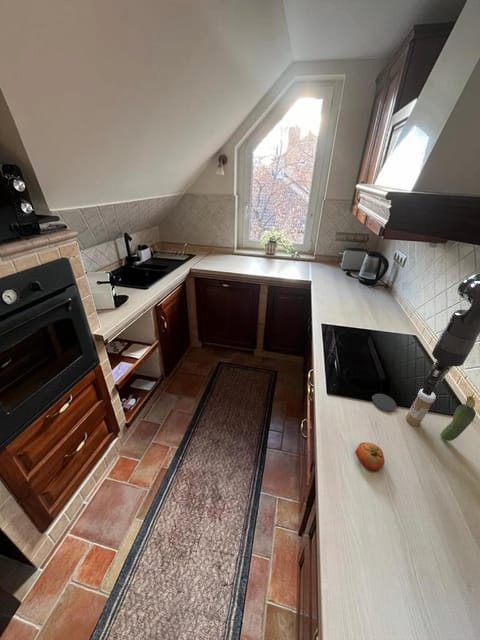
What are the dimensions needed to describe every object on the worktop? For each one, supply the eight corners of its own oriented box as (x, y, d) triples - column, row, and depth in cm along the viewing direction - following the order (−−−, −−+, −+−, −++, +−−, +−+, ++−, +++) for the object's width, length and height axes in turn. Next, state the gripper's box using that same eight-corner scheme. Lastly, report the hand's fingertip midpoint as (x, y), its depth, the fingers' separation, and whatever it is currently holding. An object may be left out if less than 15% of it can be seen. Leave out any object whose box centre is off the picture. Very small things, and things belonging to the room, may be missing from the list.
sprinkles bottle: (402, 414, 90) (417, 387, 83) (416, 416, 90) (431, 388, 83) (409, 426, 86) (424, 398, 79) (423, 427, 86) (439, 399, 79)
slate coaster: (388, 394, 98) (388, 393, 98) (400, 411, 91) (400, 410, 91) (368, 395, 98) (368, 393, 97) (378, 412, 91) (379, 410, 91)
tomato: (359, 470, 71) (363, 443, 73) (349, 461, 78) (352, 436, 79) (388, 477, 71) (391, 450, 72) (375, 467, 78) (378, 443, 79)
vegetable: (453, 439, 82) (484, 395, 72) (454, 450, 79) (488, 406, 69) (436, 433, 84) (465, 389, 74) (437, 443, 81) (467, 399, 71)
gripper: (462, 362, 65) (436, 406, 73) (476, 342, 73) (452, 384, 81) (429, 348, 70) (409, 390, 78) (446, 331, 78) (426, 371, 86)
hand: (431, 387), depth 80 cm, fingers open, 8 cm apart
